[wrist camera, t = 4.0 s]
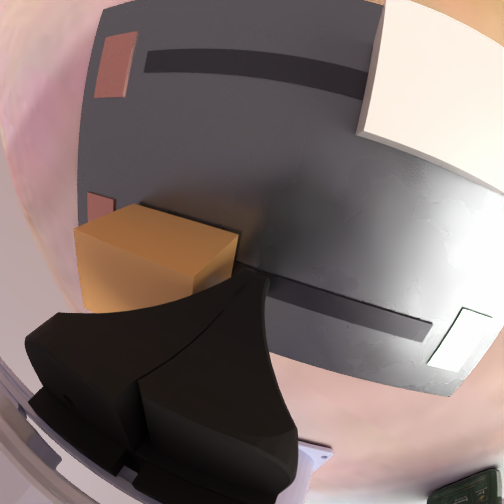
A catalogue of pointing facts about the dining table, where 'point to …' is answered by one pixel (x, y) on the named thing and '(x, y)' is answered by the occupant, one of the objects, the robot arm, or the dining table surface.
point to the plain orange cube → (148, 259)
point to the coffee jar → (471, 490)
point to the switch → (437, 93)
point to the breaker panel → (295, 181)
